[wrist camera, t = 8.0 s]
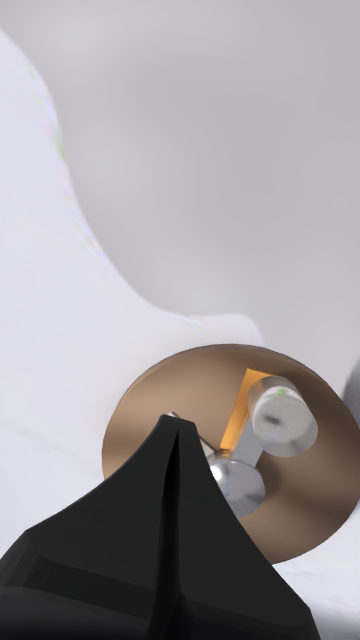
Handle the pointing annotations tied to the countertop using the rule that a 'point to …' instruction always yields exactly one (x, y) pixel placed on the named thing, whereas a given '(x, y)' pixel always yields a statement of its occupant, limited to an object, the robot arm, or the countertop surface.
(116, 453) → the dial plate
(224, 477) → the silver dumbbell
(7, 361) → the countertop surface
